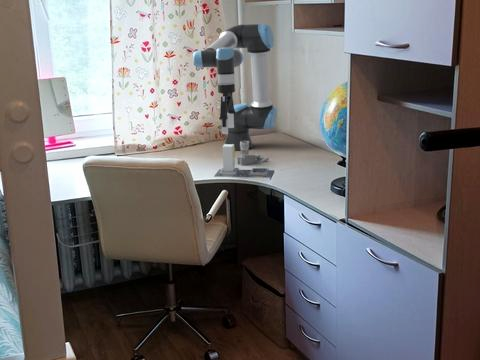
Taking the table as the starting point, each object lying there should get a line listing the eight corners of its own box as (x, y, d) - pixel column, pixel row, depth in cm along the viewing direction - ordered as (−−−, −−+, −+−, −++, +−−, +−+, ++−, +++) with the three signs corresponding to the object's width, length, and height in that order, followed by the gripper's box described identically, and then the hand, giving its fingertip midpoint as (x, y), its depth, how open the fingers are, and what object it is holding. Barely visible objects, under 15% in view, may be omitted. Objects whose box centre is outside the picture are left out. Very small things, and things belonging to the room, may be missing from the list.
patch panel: (219, 171, 300) (219, 166, 299) (274, 172, 295) (274, 167, 294) (213, 178, 289) (213, 173, 288) (270, 179, 284) (270, 174, 283)
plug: (225, 171, 296) (224, 144, 292) (235, 171, 295) (234, 144, 291) (223, 174, 291) (222, 146, 288) (233, 174, 290) (232, 146, 287)
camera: (233, 141, 307) (257, 136, 316) (234, 165, 310) (258, 159, 319) (244, 144, 300) (269, 139, 309) (245, 168, 304) (269, 163, 312)
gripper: (223, 79, 294) (225, 125, 300) (211, 87, 270) (213, 136, 276) (239, 79, 293) (241, 125, 298) (228, 87, 269) (230, 136, 275)
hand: (228, 130), depth 287 cm, fingers open, 13 cm apart
